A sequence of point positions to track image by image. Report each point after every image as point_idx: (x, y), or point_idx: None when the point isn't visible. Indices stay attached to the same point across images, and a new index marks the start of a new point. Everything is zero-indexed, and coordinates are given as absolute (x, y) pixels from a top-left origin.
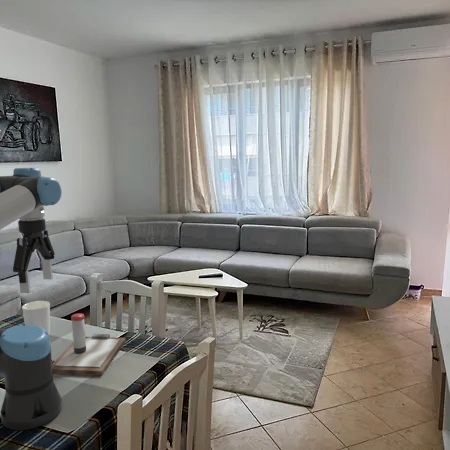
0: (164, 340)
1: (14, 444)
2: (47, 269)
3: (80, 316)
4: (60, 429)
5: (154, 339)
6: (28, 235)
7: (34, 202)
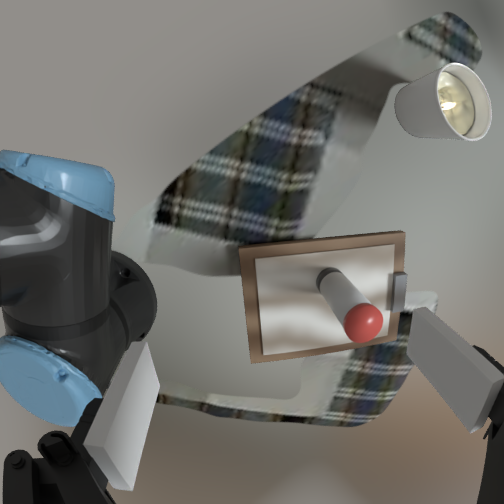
0: (390, 394)
1: None
2: (441, 372)
3: (359, 336)
4: None
5: (396, 378)
6: None
7: None
